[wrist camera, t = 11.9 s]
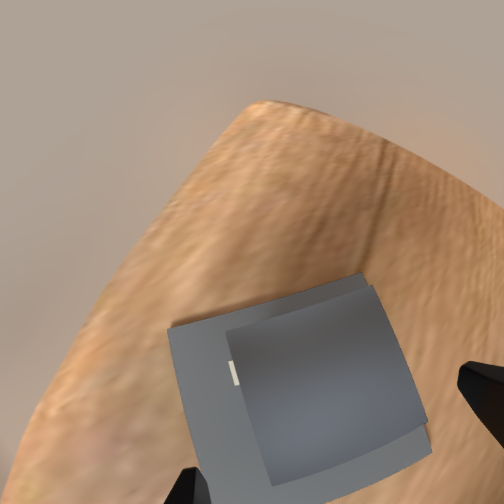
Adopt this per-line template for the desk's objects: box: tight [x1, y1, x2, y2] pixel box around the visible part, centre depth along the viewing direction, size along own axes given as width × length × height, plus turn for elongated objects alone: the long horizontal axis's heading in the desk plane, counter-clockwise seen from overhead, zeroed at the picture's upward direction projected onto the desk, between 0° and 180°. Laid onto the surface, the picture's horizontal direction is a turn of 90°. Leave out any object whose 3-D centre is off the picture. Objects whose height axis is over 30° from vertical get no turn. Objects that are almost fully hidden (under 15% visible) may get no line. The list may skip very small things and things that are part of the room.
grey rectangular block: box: [225, 285, 428, 486], centre depth 12 cm, size 5×5×10 cm
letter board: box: [167, 272, 432, 504], centre depth 17 cm, size 14×14×1 cm
